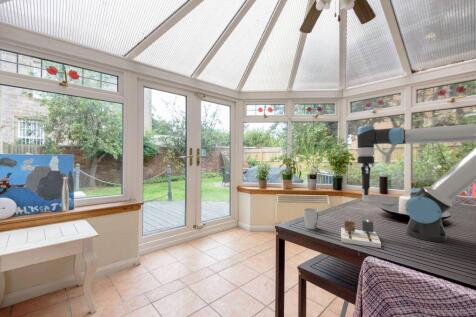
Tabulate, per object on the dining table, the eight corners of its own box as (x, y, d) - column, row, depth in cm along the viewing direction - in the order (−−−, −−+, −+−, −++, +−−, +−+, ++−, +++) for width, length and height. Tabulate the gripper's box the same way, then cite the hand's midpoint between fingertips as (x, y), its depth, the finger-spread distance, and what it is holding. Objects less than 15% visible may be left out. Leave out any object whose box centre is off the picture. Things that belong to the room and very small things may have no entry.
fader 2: (372, 230, 106) (372, 220, 106) (373, 232, 103) (373, 222, 103) (362, 229, 108) (362, 219, 108) (362, 231, 105) (362, 220, 105)
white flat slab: (375, 236, 106) (375, 231, 106) (381, 248, 93) (381, 242, 93) (341, 231, 113) (341, 227, 113) (341, 242, 99) (341, 237, 99)
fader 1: (354, 229, 107) (354, 220, 107) (354, 232, 104) (354, 221, 104) (344, 228, 109) (344, 218, 109) (344, 230, 106) (344, 220, 106)
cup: (319, 230, 115) (319, 212, 115) (304, 229, 116) (304, 211, 116) (317, 225, 123) (317, 208, 122) (302, 225, 124) (302, 207, 124)
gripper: (356, 155, 120) (356, 197, 120) (358, 156, 107) (358, 202, 107) (372, 155, 117) (372, 198, 117) (376, 155, 104) (376, 204, 104)
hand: (365, 200), depth 112 cm, fingers closed
